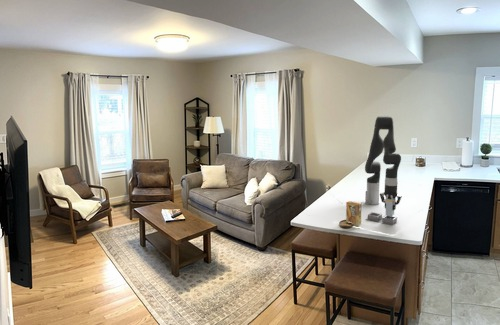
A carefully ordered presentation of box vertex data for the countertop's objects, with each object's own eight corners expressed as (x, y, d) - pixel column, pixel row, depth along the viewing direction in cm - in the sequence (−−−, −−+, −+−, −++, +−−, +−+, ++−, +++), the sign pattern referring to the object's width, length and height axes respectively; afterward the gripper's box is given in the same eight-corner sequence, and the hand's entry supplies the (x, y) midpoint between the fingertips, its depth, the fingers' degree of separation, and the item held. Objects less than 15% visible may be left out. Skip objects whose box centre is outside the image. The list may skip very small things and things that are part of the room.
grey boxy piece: (365, 221, 232) (365, 215, 231) (372, 216, 241) (372, 211, 240) (392, 227, 220) (392, 221, 219) (399, 222, 228) (399, 216, 228)
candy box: (361, 225, 225) (361, 202, 222) (358, 227, 222) (359, 204, 219) (348, 222, 230) (348, 200, 228) (345, 224, 227) (346, 202, 225)
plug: (385, 215, 226) (386, 199, 224) (387, 213, 229) (388, 197, 227) (391, 216, 223) (392, 200, 221) (394, 214, 226) (394, 198, 224)
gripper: (377, 183, 224) (377, 209, 227) (400, 186, 215) (399, 213, 218) (382, 181, 230) (381, 206, 233) (404, 184, 220) (403, 210, 223)
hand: (390, 209), depth 225 cm, fingers closed on plug, 4 cm apart
